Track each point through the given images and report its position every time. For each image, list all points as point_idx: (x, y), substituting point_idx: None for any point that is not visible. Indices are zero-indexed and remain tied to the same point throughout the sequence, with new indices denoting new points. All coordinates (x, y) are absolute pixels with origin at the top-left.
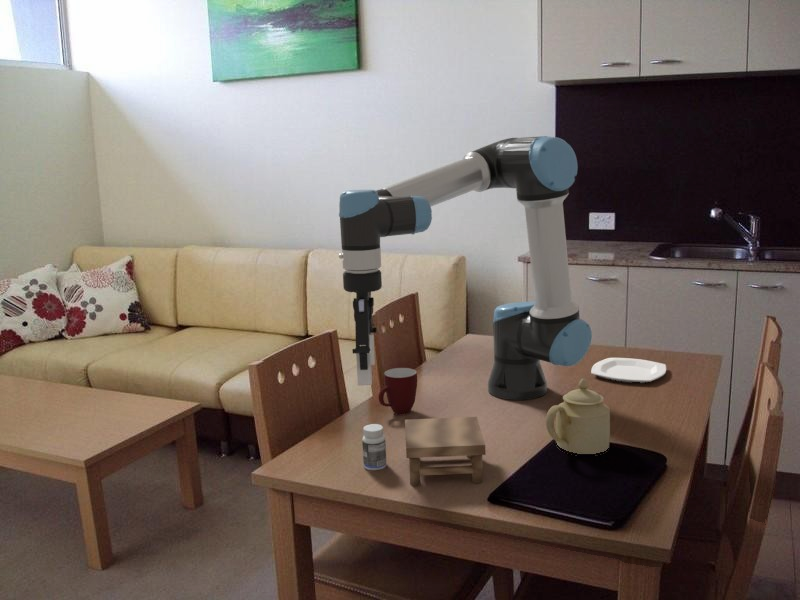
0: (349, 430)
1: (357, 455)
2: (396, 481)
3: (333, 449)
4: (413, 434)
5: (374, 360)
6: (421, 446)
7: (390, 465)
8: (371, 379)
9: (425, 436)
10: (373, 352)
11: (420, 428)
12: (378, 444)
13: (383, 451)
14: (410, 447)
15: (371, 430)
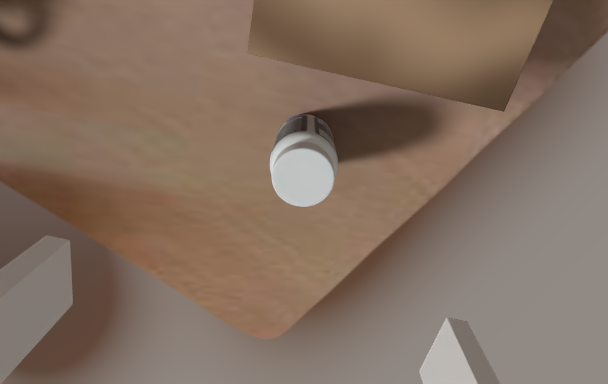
0: (65, 162)
1: (232, 169)
2: (409, 109)
3: (184, 214)
4: (400, 57)
5: (50, 256)
6: (517, 56)
7: (314, 104)
8: (479, 347)
9: (439, 16)
10: (3, 298)
11: (353, 14)
12: (337, 157)
13: (328, 134)
14: (505, 96)
15: (326, 188)
